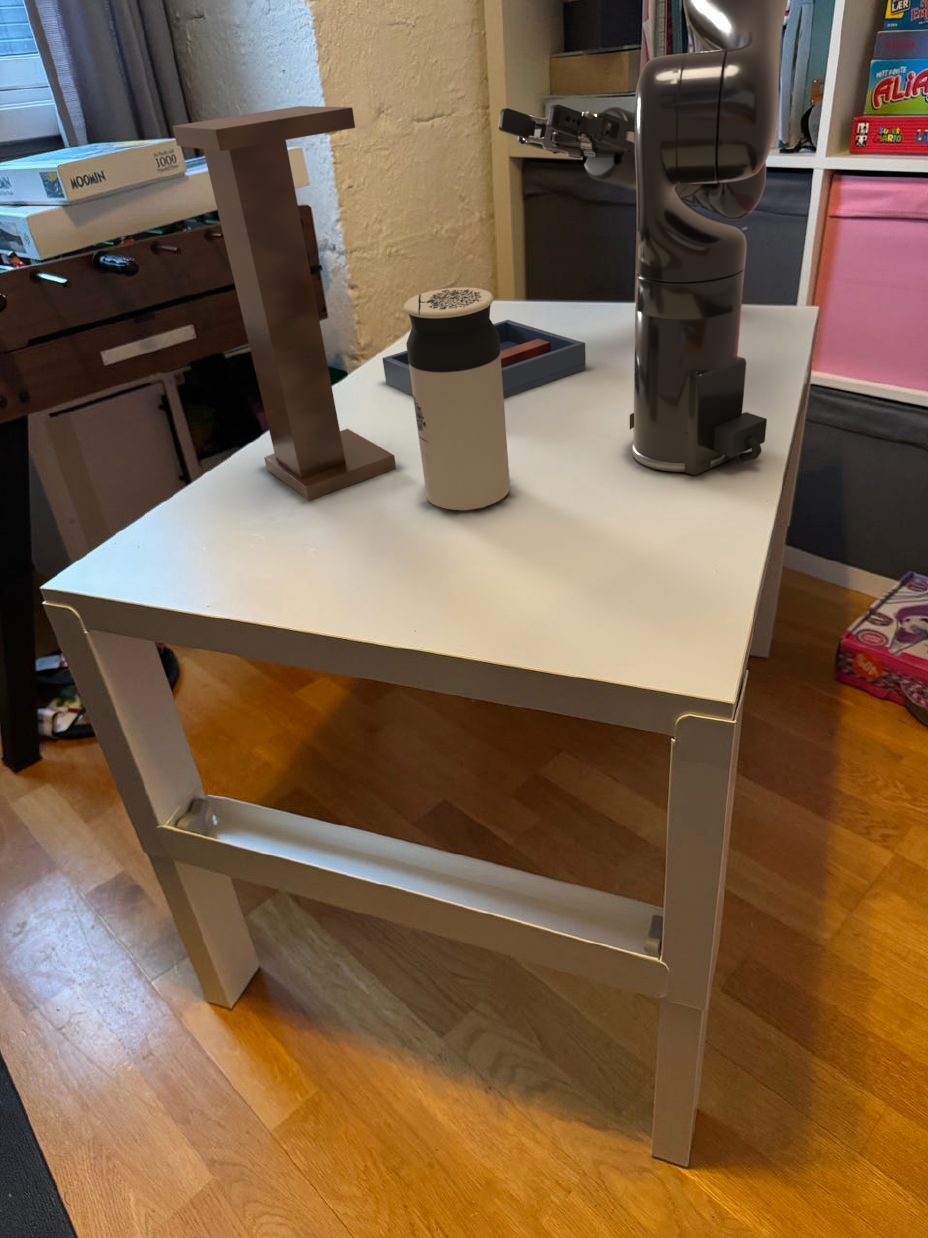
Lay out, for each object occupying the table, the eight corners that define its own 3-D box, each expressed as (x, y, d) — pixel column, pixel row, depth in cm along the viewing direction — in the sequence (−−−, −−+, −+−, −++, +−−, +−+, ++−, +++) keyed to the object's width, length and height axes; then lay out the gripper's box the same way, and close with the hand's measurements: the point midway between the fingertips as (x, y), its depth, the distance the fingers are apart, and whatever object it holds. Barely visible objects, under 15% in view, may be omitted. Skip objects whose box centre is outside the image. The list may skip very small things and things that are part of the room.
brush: (450, 400, 102) (445, 359, 99) (419, 387, 106) (414, 348, 104) (561, 361, 109) (560, 322, 107) (529, 350, 114) (527, 313, 111)
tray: (585, 369, 108) (585, 342, 107) (455, 415, 100) (452, 387, 98) (509, 343, 119) (507, 319, 118) (386, 383, 111) (382, 357, 109)
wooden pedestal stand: (299, 504, 85) (215, 129, 67) (258, 472, 92) (171, 125, 74) (404, 465, 90) (352, 106, 72) (357, 438, 97) (299, 105, 79)
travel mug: (512, 473, 86) (499, 283, 76) (507, 511, 80) (491, 309, 70) (433, 476, 87) (409, 289, 77) (420, 514, 81) (393, 316, 71)
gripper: (598, 118, 106) (491, 80, 97) (686, 113, 96) (577, 71, 86) (584, 186, 109) (480, 156, 99) (669, 189, 98) (561, 156, 89)
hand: (525, 116), depth 93 cm, fingers open, 8 cm apart
